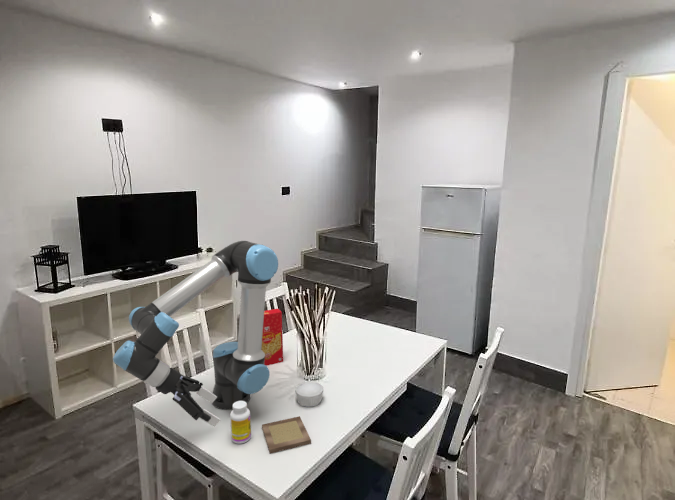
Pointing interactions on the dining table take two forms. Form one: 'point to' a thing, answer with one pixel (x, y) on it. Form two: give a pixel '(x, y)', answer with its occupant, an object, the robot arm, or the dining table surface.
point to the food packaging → (272, 337)
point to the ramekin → (309, 393)
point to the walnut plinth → (285, 434)
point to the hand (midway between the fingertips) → (215, 411)
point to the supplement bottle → (240, 422)
